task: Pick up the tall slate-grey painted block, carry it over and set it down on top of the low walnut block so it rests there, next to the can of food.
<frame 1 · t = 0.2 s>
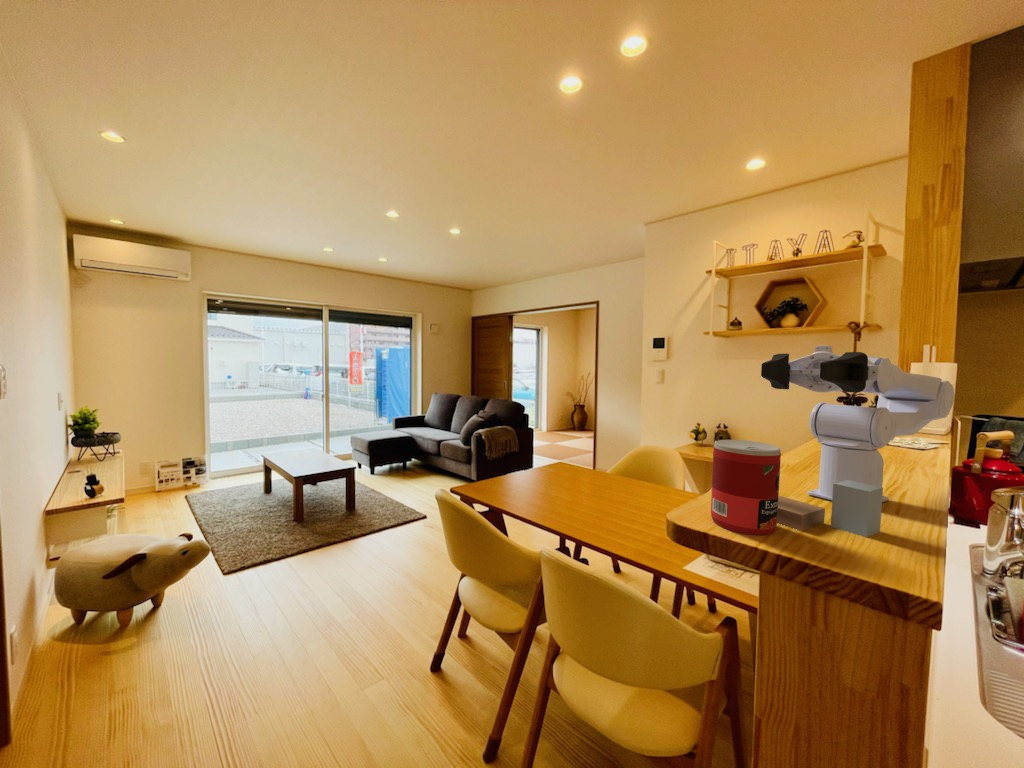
hand: (791, 370, 59), 21 cm above the table, tool horizontal, fingers open, 7 cm apart
canned food: (742, 526, 58), on the table
walnut block: (789, 522, 60), on the table
grey block: (854, 529, 57), on the table
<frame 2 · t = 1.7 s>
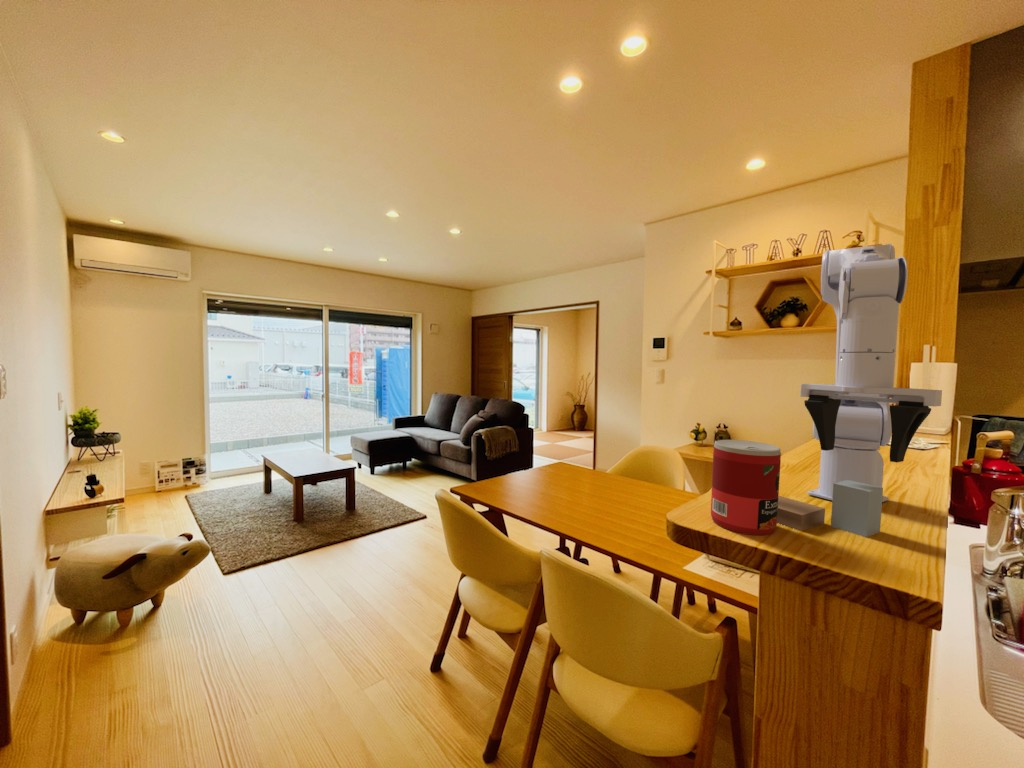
hand: (859, 455, 57), 10 cm above the table, tool pointing down, fingers open, 7 cm apart
nothing on the table moved.
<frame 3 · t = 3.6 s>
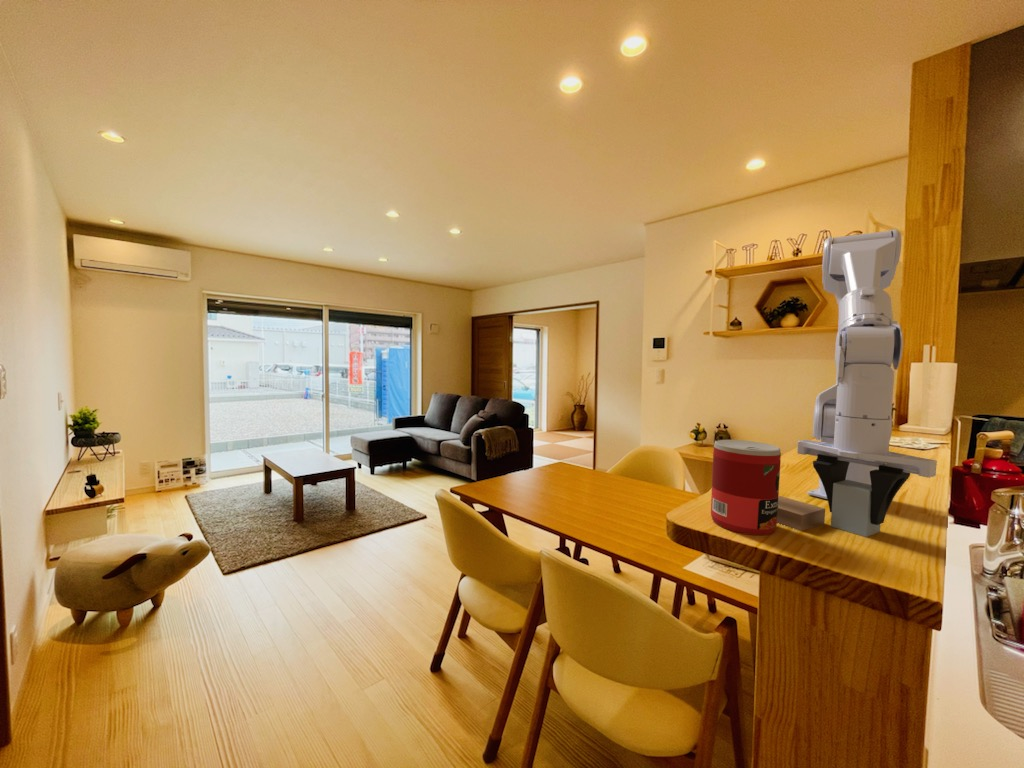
hand: (855, 517, 57), 2 cm above the table, tool pointing down, fingers closed on grey block, 4 cm apart
grey block: (855, 528, 57), on the table, touching gripper
everything else where it was.
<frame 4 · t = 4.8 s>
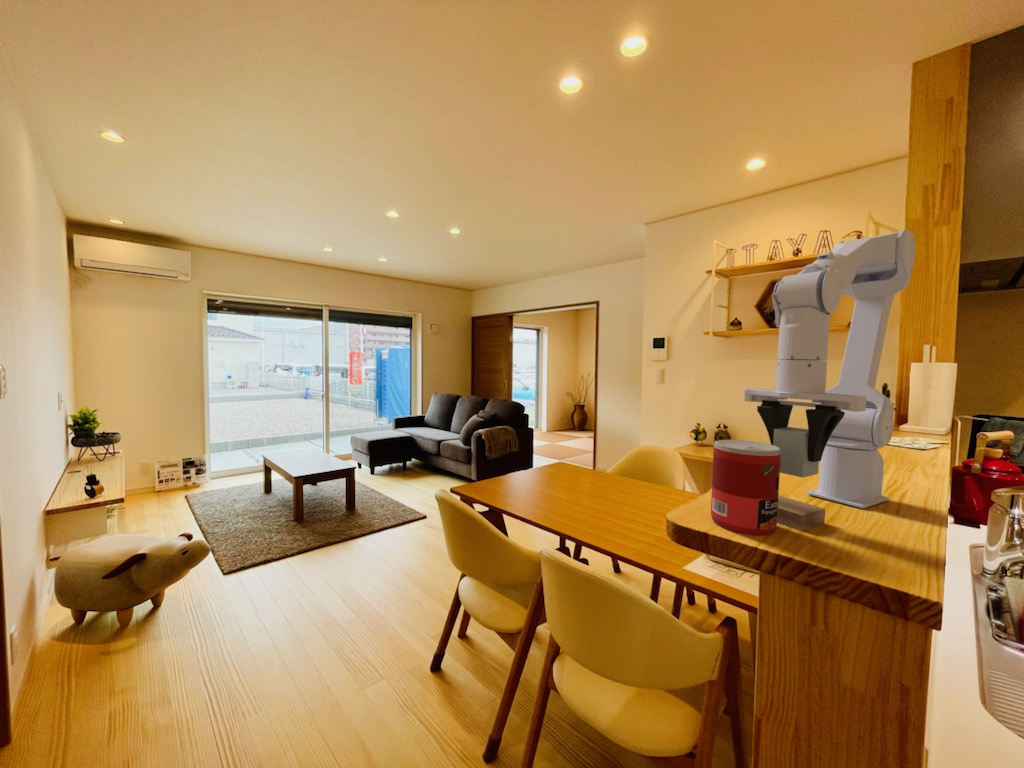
hand: (795, 457, 59), 9 cm above the table, tool pointing down, fingers closed on grey block, 4 cm apart
grey block: (794, 472, 59), point 7 cm above the table, touching gripper
everything else where it was.
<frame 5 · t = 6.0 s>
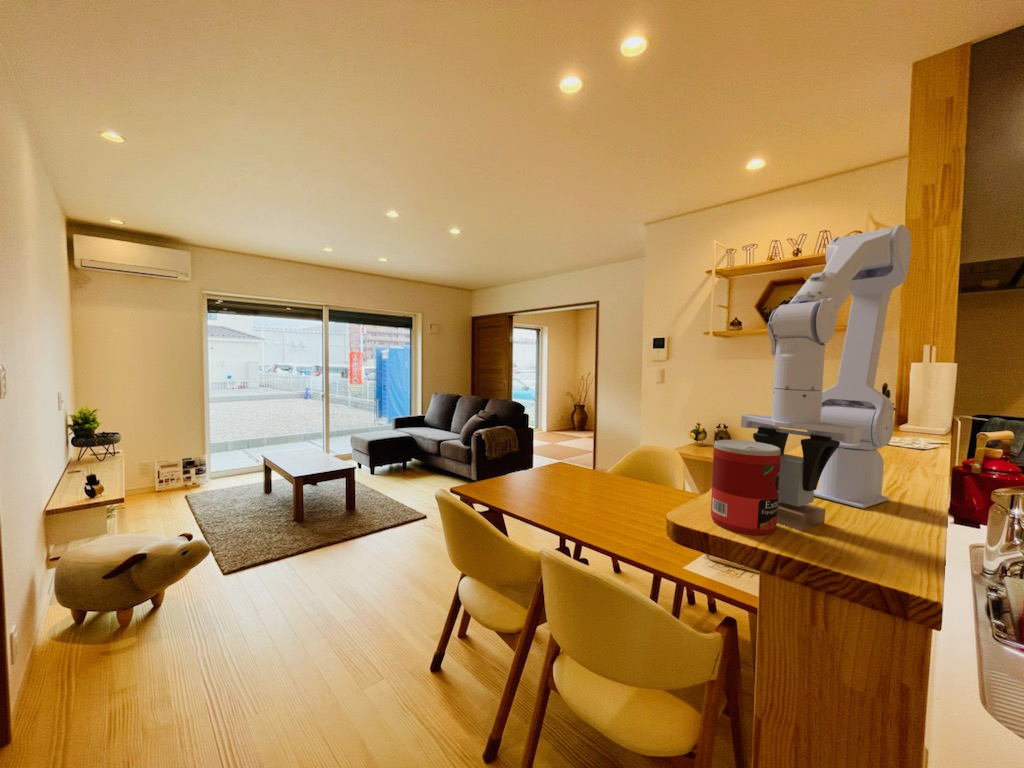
hand: (791, 485, 60), 5 cm above the table, tool pointing down, fingers closed on grey block, 4 cm apart
grey block: (790, 500, 60), point 3 cm above the table, touching gripper
everything else where it was.
when the fingers open (5 cm above the table, at t = 6.4 s): grey block stays where it is, resting on walnut block.
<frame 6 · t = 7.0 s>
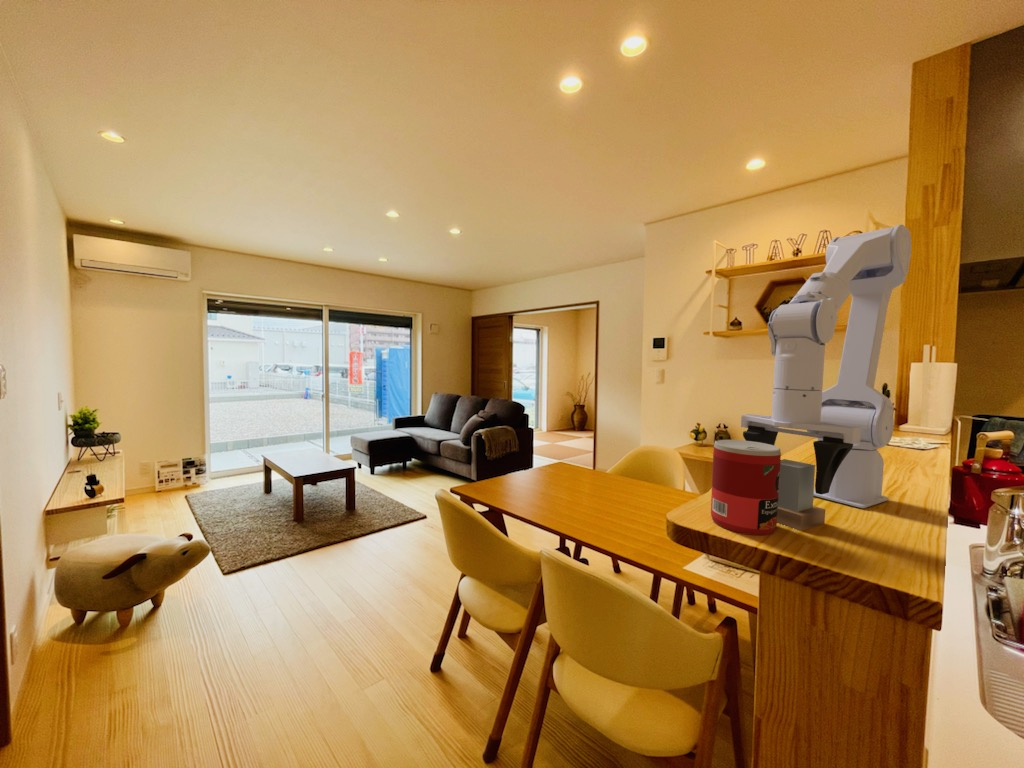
hand: (791, 485, 60), 5 cm above the table, tool pointing down, fingers open, 7 cm apart
walnut block: (789, 522, 60), on the table, touching grey block
grey block: (789, 505, 60), point 2 cm above the table, touching walnut block
everything else where it was.
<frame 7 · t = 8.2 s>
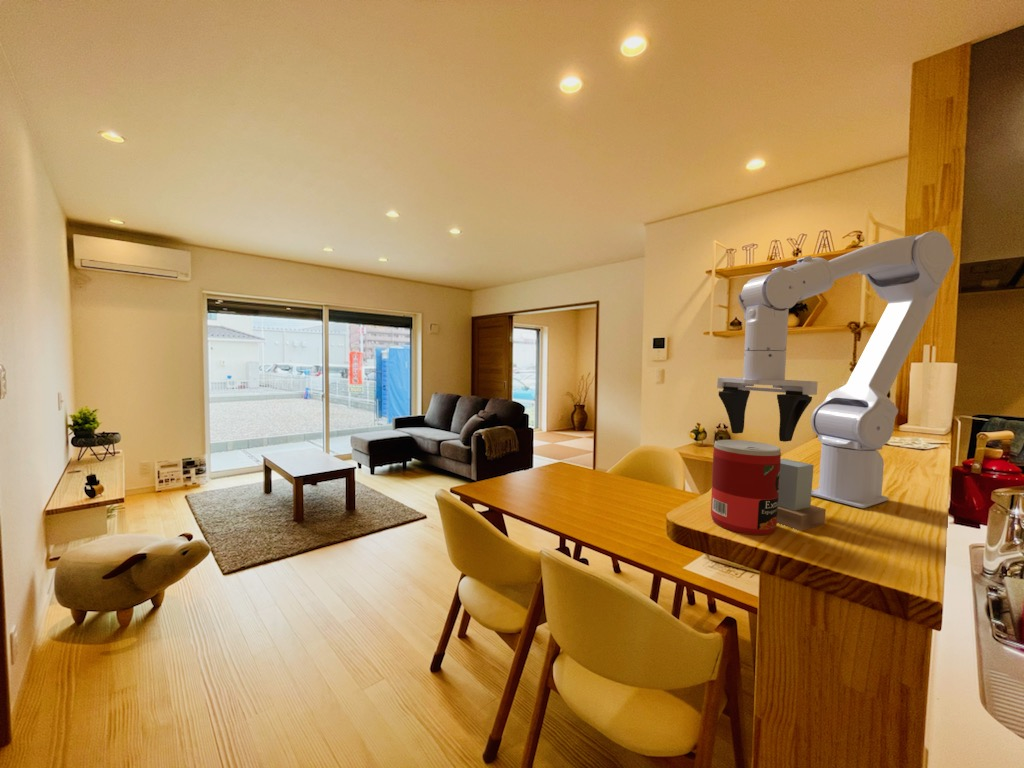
hand: (760, 436, 68), 10 cm above the table, tool pointing down, fingers open, 7 cm apart
nothing on the table moved.
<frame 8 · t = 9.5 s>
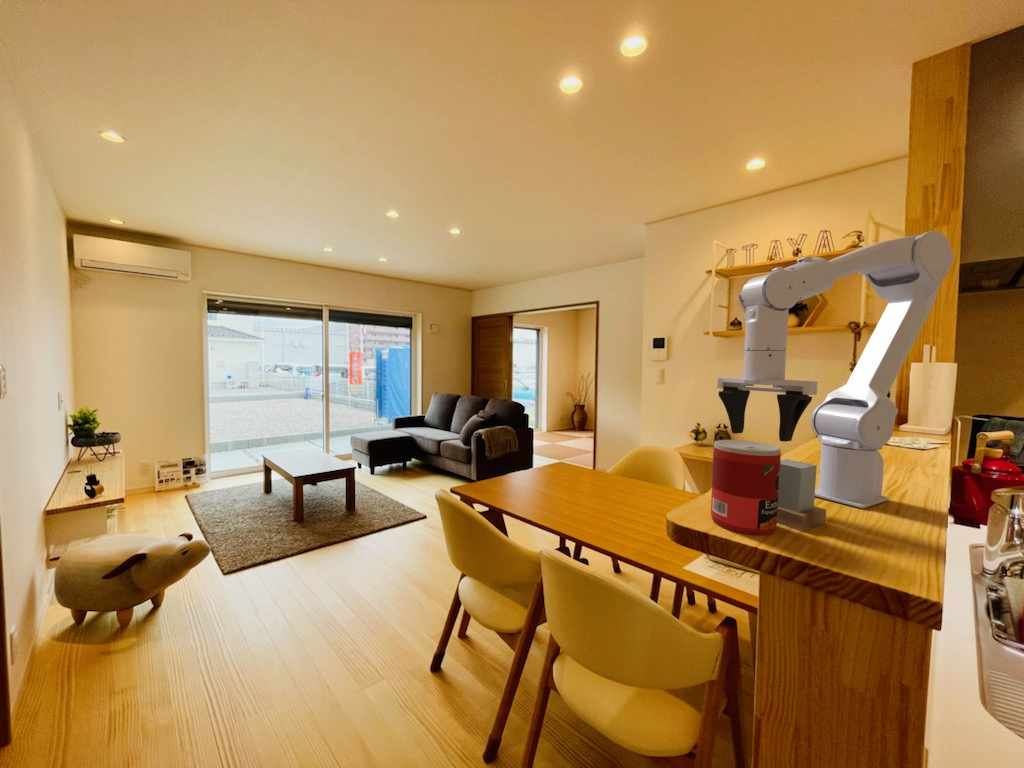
hand: (760, 436, 68), 10 cm above the table, tool pointing down, fingers open, 7 cm apart
nothing on the table moved.
at the end: grey block 0.1 cm off-centre on the walnut block, point 2.5 cm above the walnut block's base; grey block tilted 0°; the gripper is holding nothing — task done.
